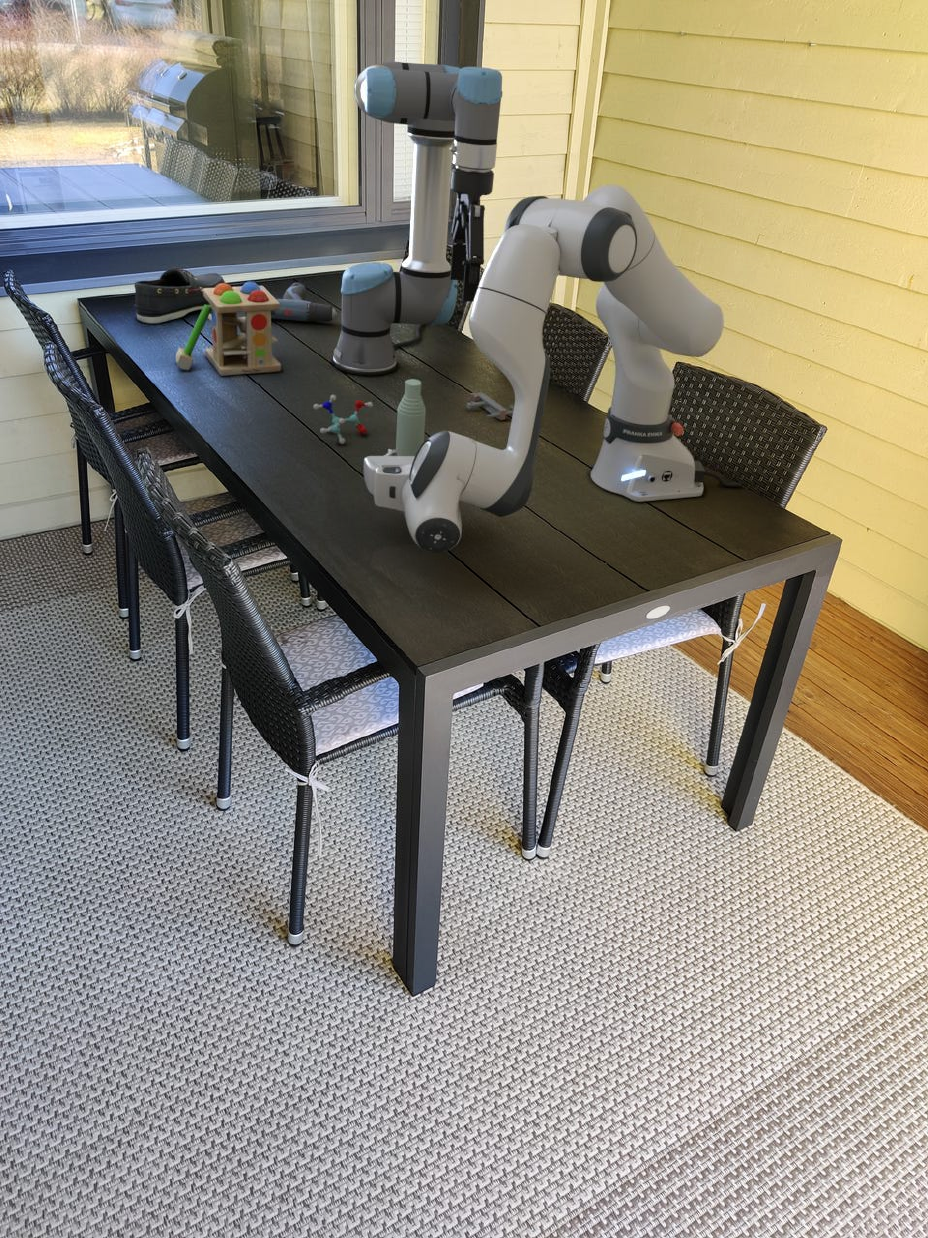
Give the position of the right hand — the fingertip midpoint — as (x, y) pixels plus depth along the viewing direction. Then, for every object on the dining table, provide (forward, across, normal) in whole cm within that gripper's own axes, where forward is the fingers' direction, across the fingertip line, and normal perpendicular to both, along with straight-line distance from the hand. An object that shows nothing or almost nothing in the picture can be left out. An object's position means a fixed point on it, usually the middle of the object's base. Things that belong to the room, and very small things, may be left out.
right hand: (418, 452), depth 175 cm
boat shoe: (+111, +51, +11) cm, 123 cm away
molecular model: (+30, +13, +11) cm, 35 cm away
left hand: (+26, -10, -21) cm, 35 cm away
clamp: (+44, -22, +11) cm, 50 cm away
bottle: (+11, 0, +11) cm, 15 cm away
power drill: (+110, +19, +11) cm, 112 cm away
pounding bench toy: (+69, +38, +11) cm, 79 cm away
